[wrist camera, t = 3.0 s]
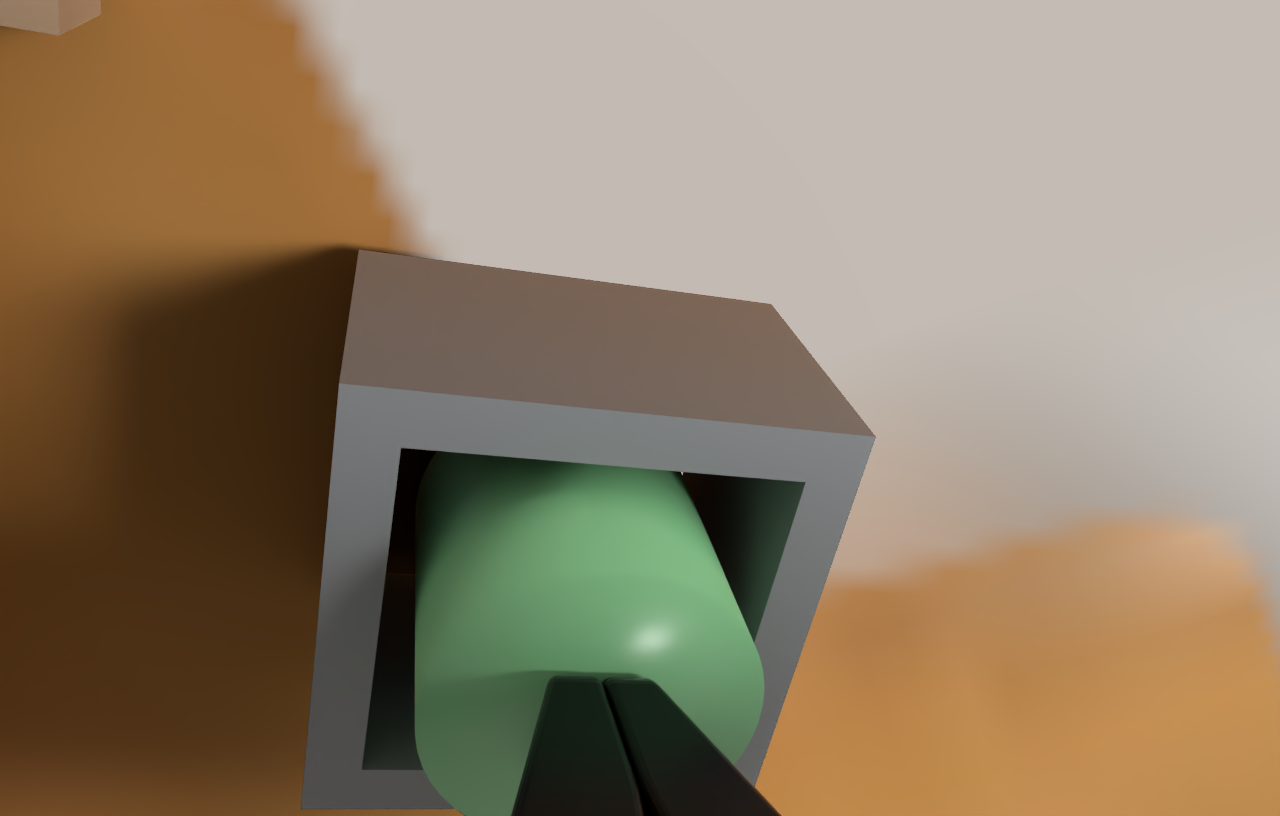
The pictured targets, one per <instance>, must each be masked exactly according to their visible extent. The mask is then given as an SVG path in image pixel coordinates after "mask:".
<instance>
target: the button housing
mask: <svg viewBox="0 0 1280 816" xmlns="http://www.w3.org/2000/svg"><path fill="white" fill-rule="evenodd" d="M875 438H876V437H875V435H874V434H873V433H872V432H871V430H870V429H869V428H868V426H867V425H866V424H865V423H864V421H863V420H862V419H861V417H860V416H859V415H858V414H857V412H856V411H855V410H854V409H853V407H852V406H851V405H850V404H849V402H848V401H847V400H846V399H845V397H844V396H843V395H842V393H841V392H840V391H839V390H838V388H837V387H836V386H835V385H834V383H833V382H832V381H831V379H830V378H829V377H828V376H827V375H826V373H825V372H824V371H823V369H822V368H821V367H820V366H819V364H818V363H817V362H816V361H815V359H814V358H813V357H812V355H811V354H810V353H809V352H808V350H807V349H806V348H805V346H804V345H803V344H802V343H801V341H800V340H799V339H798V338H797V336H796V335H795V334H794V333H793V331H792V330H791V329H790V327H789V326H788V325H787V324H786V322H785V321H784V320H783V319H782V317H781V316H780V315H779V313H778V312H777V311H776V310H775V308H774V307H773V306H772V305H771V304H765V303H758V302H750V301H743V300H736V299H728V298H721V297H713V296H706V295H698V294H691V293H683V292H676V291H668V290H660V289H653V288H645V287H637V286H630V285H623V284H615V283H607V282H600V281H593V280H585V279H577V278H570V277H562V276H555V275H547V274H540V273H532V272H525V271H517V270H510V269H502V268H495V267H487V266H480V265H472V264H464V263H457V262H449V261H442V260H434V259H427V258H419V257H412V256H404V255H397V254H389V253H382V252H374V251H366V250H359V252H358V259H357V266H356V273H355V280H354V286H353V293H352V300H351V307H350V313H349V320H348V327H347V334H346V340H345V347H344V354H343V361H342V367H341V374H340V381H339V390H338V401H337V413H336V424H335V435H334V446H333V457H332V468H331V480H330V491H329V502H328V513H327V524H326V535H325V546H324V558H323V569H322V580H321V591H320V602H319V613H318V624H317V636H316V647H315V658H314V669H313V680H312V691H311V702H310V714H309V725H308V736H307V747H306V758H305V769H304V781H303V792H302V803H301V809H455V808H453V807H452V806H451V805H450V804H449V803H448V802H447V801H446V800H445V799H444V798H443V797H442V796H441V795H440V794H439V793H438V791H437V790H436V789H435V787H434V786H433V785H432V783H431V782H430V781H429V779H428V777H427V775H426V773H425V771H424V769H423V767H422V765H421V762H420V758H419V755H418V752H417V747H416V739H415V575H411V574H392V573H386V567H387V558H388V550H389V542H390V534H391V526H392V517H393V509H394V501H395V493H396V485H397V476H398V468H399V460H400V452H401V448H410V449H422V450H433V451H445V452H457V453H468V454H480V455H492V456H503V457H515V458H527V459H539V460H550V461H562V462H574V463H585V464H597V465H609V466H620V467H632V468H644V469H655V470H667V471H679V472H683V478H684V481H685V483H686V485H687V488H688V490H689V492H690V495H691V497H692V499H693V502H694V504H695V506H696V509H697V511H698V513H699V516H700V518H701V520H702V523H703V525H704V527H705V530H706V532H707V534H708V537H709V539H710V541H711V544H712V546H713V548H714V551H715V553H716V555H717V558H718V560H719V562H720V565H721V567H722V569H723V572H724V574H725V577H726V579H727V581H728V584H729V586H730V588H731V591H732V593H733V595H734V598H735V600H736V602H737V605H738V607H739V609H740V612H741V614H742V616H743V619H744V621H745V623H746V626H747V628H748V630H749V633H750V635H751V637H752V640H753V642H754V644H755V647H756V649H757V651H758V654H759V657H760V661H761V665H762V668H763V675H764V699H763V707H762V710H761V714H760V718H759V722H758V724H757V727H756V729H755V731H754V734H753V736H752V738H751V740H750V742H749V744H748V745H747V747H746V749H745V750H744V752H743V754H742V755H741V756H740V758H739V759H738V760H737V762H736V763H735V764H734V766H735V767H736V768H737V769H738V770H739V771H740V772H741V773H742V774H743V775H744V776H745V777H746V779H747V780H748V781H749V782H750V783H751V784H752V785H753V786H754V787H755V784H756V781H757V778H758V776H759V773H760V770H761V767H762V764H763V761H764V758H765V755H766V752H767V750H768V747H769V744H770V741H771V738H772V735H773V732H774V729H775V726H776V724H777V721H778V718H779V715H780V712H781V709H782V706H783V703H784V700H785V698H786V695H787V692H788V689H789V686H790V683H791V680H792V677H793V675H794V672H795V669H796V666H797V663H798V660H799V657H800V654H801V651H802V649H803V646H804V643H805V640H806V637H807V634H808V631H809V628H810V625H811V623H812V620H813V617H814V614H815V611H816V608H817V605H818V602H819V599H820V597H821V594H822V591H823V588H824V585H825V582H826V579H827V576H828V573H829V571H830V568H831V565H832V562H833V559H834V556H835V553H836V550H837V547H838V545H839V542H840V539H841V536H842V533H843V530H844V527H845V524H846V521H847V519H848V516H849V513H850V510H851V507H852V504H853V501H854V498H855V496H856V493H857V490H858V487H859V484H860V481H861V478H862V475H863V472H864V469H865V466H866V464H867V461H868V458H869V455H870V452H871V449H872V446H873V443H874V441H875Z"/></svg>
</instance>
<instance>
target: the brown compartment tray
mask: <svg viewBox="0 0 1280 816" xmlns="http://www.w3.org/2000/svg"><path fill="white" fill-rule="evenodd" d="M99 15H101V0H0V26H6V27H12V28H18V29H24V30H29V31H35V32H41V33H47V34H53V35H59V36H60V35H62V34H64V33H66V32H68V31H70V30H72V29H74V28H76V27H78V26H80V25H82V24H84V23H86V22H88V21H90V20H92V19H93V18H95V17H97V16H99Z"/></svg>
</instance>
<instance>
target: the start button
mask: <svg viewBox="0 0 1280 816" xmlns="http://www.w3.org/2000/svg"><path fill="white" fill-rule="evenodd" d="M554 676H589V677H595V678H597V679H598V680H600V681H601V682H602V681H604V680H605V679H607V678H609V677H621V678H646V679H651V680H652V681H654V682H656V683H657V684H658V685H659V686H660V687H661V688H662V689H663V690H664V691H665V692H666V693H667V694H668V695H669V697H670V698H671V699H672V700H673V701H674V702H675V703H676V704H677V705H678V706H679V707H680V708H681V709H682V710H683V711H684V713H685V714H686V715H687V716H688V717H689V718H690V719H691V720H692V721H693V722H694V723H695V724H696V725H697V726H698V727H699V728H700V730H701V731H702V732H703V733H704V734H705V735H706V736H707V737H708V738H709V739H710V740H711V741H712V742H713V743H714V744H715V746H716V747H717V748H718V749H719V750H720V751H721V752H722V753H723V754H724V755H725V756H726V757H727V758H728V759H729V760H730V761H731V763H732V764H733V765H734V764H735V763H736V762H737V760H738V759H739V758H740V756H741V755H742V754H743V752H744V750H745V749H746V747H747V745H748V744H749V742H750V740H751V738H752V736H753V734H754V731H755V729H756V727H757V724H758V722H759V718H760V714H761V710H762V707H763V699H764V675H763V668H762V665H761V661H760V657H759V654H758V651H757V649H756V647H755V644H754V642H753V640H752V637H751V635H750V633H749V630H748V628H747V626H746V623H745V621H744V619H743V616H742V614H741V612H740V609H739V607H738V605H737V602H736V600H735V598H734V595H733V593H732V591H731V588H730V586H729V584H728V581H727V579H726V577H725V574H724V572H723V569H722V567H721V565H720V562H719V560H718V558H717V555H716V553H715V551H714V548H713V546H712V544H711V541H710V539H709V537H708V534H707V532H706V530H705V527H704V525H703V523H702V520H701V518H700V516H699V513H698V511H697V509H696V506H695V504H694V502H693V499H692V497H691V495H690V492H689V490H688V488H687V485H686V483H685V481H684V478H683V476H682V474H681V472H679V471H667V470H655V469H644V468H632V467H620V466H609V465H597V464H585V463H574V462H562V461H550V460H539V459H527V458H515V457H503V456H492V455H480V454H468V453H457V452H445V451H437V452H436V453H435V455H434V456H433V458H432V459H431V461H430V463H429V465H428V467H427V468H426V470H425V472H424V475H423V478H422V480H421V483H420V486H419V490H418V495H417V500H416V513H415V739H416V747H417V752H418V755H419V758H420V762H421V765H422V767H423V769H424V771H425V773H426V775H427V777H428V779H429V781H430V782H431V783H432V785H433V786H434V787H435V789H436V790H437V791H438V793H439V794H440V795H441V796H442V797H443V798H444V799H445V800H446V801H447V802H448V803H449V804H450V805H451V806H452V807H453V808H455V809H456V810H458V811H459V812H461V813H462V814H463V815H465V816H511V813H512V810H513V806H514V803H515V799H516V795H517V792H518V788H519V785H520V781H521V777H522V774H523V770H524V766H525V763H526V759H527V756H528V752H529V748H530V745H531V741H532V738H533V734H534V730H535V727H536V723H537V720H538V716H539V712H540V709H541V705H542V702H543V698H544V694H545V691H546V687H547V684H548V682H549V680H550V679H551V678H552V677H554Z"/></svg>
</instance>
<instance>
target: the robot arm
mask: <svg viewBox="0 0 1280 816" xmlns="http://www.w3.org/2000/svg"><path fill="white" fill-rule="evenodd" d="M511 816H781V815H780V814H779V813H778V812H777V810H776V809H775V808H774V807H773V806H772V805H771V804H770V803H769V802H768V801H767V800H766V799H765V798H764V797H763V796H762V794H761V793H760V792H759V791H758V790H757V789H756V788H755V787H754V786H753V785H752V784H751V783H750V782H749V781H748V780H747V779H746V777H745V776H744V775H743V774H742V773H741V772H740V771H739V770H738V769H737V768H736V767H735V766H734V765H733V764H732V763H731V761H730V760H729V759H728V758H727V757H726V756H725V755H724V754H723V753H722V752H721V751H720V750H719V749H718V748H717V747H716V746H715V744H714V743H713V742H712V741H711V740H710V739H709V738H708V737H707V736H706V735H705V734H704V733H703V732H702V731H701V730H700V728H699V727H698V726H697V725H696V724H695V723H694V722H693V721H692V720H691V719H690V718H689V717H688V716H687V715H686V714H685V713H684V711H683V710H682V709H681V708H680V707H679V706H678V705H677V704H676V703H675V702H674V701H673V700H672V699H671V698H670V697H669V695H668V694H667V693H666V692H665V691H664V690H663V689H662V688H661V687H660V686H659V685H658V684H657V683H656V682H654V681H652V680H651V679H646V678H621V677H609V678H607V679H605V680H604V681H602V682H601V681H600V680H598V679H597V678H595V677H589V676H554V677H552V678H551V679H550V680H549V682H548V684H547V687H546V691H545V694H544V698H543V702H542V705H541V709H540V712H539V716H538V720H537V723H536V727H535V730H534V734H533V738H532V741H531V745H530V748H529V752H528V756H527V759H526V763H525V766H524V770H523V774H522V777H521V781H520V785H519V788H518V792H517V795H516V799H515V803H514V806H513V810H512V813H511Z"/></svg>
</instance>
